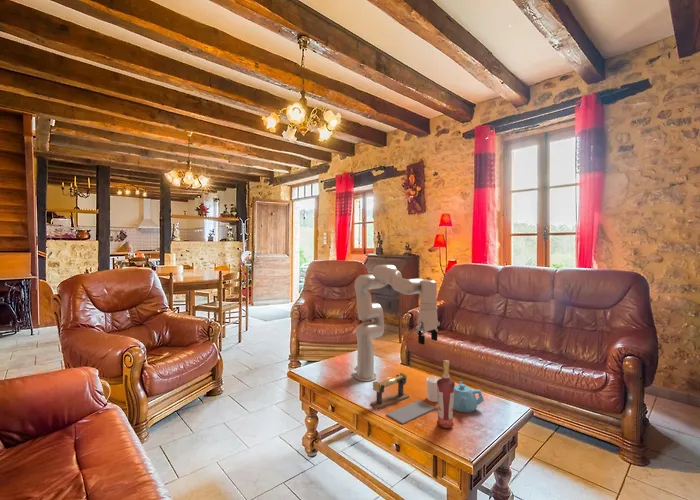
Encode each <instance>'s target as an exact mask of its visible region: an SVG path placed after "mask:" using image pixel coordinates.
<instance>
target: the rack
mask: <svg viewBox="0 0 700 500" xmlns="http://www.w3.org/2000/svg"><path fill="white" fill-rule="evenodd" d="M398 376H400V374H396V376H395V377H398ZM375 382H376V383H379V382H378V381H375ZM406 384H407V382H406V378H405V377H403V381H401V382H399V383H397V391H398V392H395V393H392V394H390V395H387V396H385V397H382V396H383V393H385V388H384V385H381V389H380V392H379V393H378V392H376V400H374V401H371V402H370V403H369V405H370V406H371V407H373V408H375V409H377V410H382V409H384V408H386V407H388V406H392V405H394V404H396V403H399V402H401V401H404V400H407V399H409V398H410V395H409V394H407V393H405V392H404V385H406Z"/></svg>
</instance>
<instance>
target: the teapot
mask: <svg viewBox="0 0 700 500" xmlns="http://www.w3.org/2000/svg"><path fill="white" fill-rule="evenodd" d="M476 394H478V395H477V396H478V398H477V397H476ZM484 400H485V399H484V395H483V394H482V389H472V388H471V387H469V386H468V385H466V384H465V383H463V381H459V383H458V384H456V385H455V388H454V403H453V411H456V412H459V413H467V414H468V413H472V412H474V411H475V410H476V409H477V408H478V405H480V404H482V403H483V402H484Z"/></svg>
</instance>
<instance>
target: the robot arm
mask: <svg viewBox="0 0 700 500" xmlns="http://www.w3.org/2000/svg"><path fill="white" fill-rule="evenodd" d="M387 285H390V286H391V288H392V290H394V291H396V292H398V293H400V294H403V295H407V296H408V295H409V296H410V295H419V294H420V301H419V302H420V303H419V304H420V308H419V310H418V314H417V325H415V331H416V334H417V336H418V341H417V342H418V344H421V345H425V338H426V337H425V334H426V332H431V333H430V334H431V335H430V336H431V337H430V340H431V341H434V342H435V341H438V333H439V329H440V325H441V322H440V321H439V320H438V310H437V307H438V306H437V297H438V296H437V294H438V289H437V288H438V284H437V281H436V280H432V279H425V278H421V277H417V278H408V279H407V278H403V276H402V272H400V271H399V270H398V269H397V267H396V266H395V265H394V264H388V263H387V264H378V265H376V266H374V268H373V270H372V273H371V274H362V275H359V276H357V278H356V279H355V281H354V292H355V296H356V308H357V309H356V310H357V311H356V312H357V318H358V319H359V320H360V321H363V323H360V324H358V325H357V327H356V328H355V335H356V341H357V345H356V346H357V356H356V357H357V365H356V366H355V367H354V371H356V373H355V374H354V378H355V380H357V381H359V382H372V381H375V380H376V379H377V374H376V373H375V371H374V370H375V367H374V366H375V365H374V364H375V346H374V344H373V341H372V340H373V339H377V338H380V337H382V336H383V335H384V332H385V321H384V320H385V319H384V310H383V307H382V306H381V304H380V303H378V302H372V296H371V292H370V291H369V290H376V289H383V288H384V287H386V286H387ZM364 321H365V322H364ZM366 321H367V322H366ZM368 321H369V322H368Z"/></svg>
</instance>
